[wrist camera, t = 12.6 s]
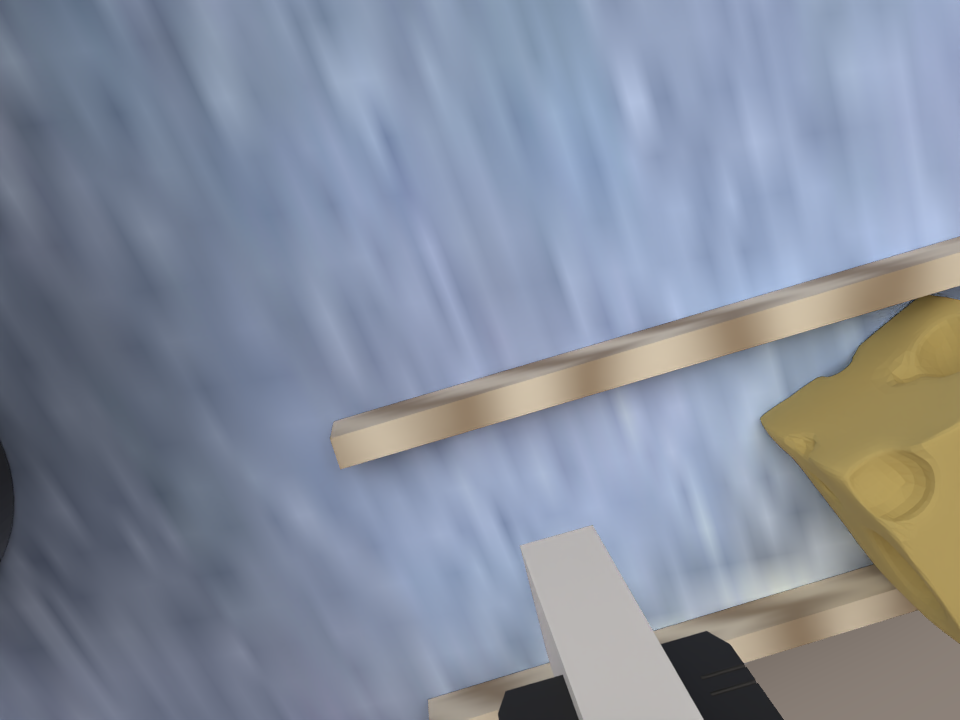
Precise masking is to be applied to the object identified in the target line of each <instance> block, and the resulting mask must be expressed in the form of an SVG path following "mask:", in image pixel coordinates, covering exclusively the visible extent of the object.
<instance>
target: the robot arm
mask: <svg viewBox="0 0 960 720" xmlns="http://www.w3.org/2000/svg"><path fill="white" fill-rule="evenodd" d="M13 502H14V501H13V487H12V480H11V475H10V471H9V466H8V463H7V460H6V457H5V454H4V451H3V449H2V446H1V444H0V560H1V558H2V556H3V554H4V551H5V549H6V546H7V543H8V539H9V536H10V531H11V526H12V519H13ZM520 548H521V552H522V556H523V560H524V564H525V568H526V572H527V576H528V580H529V584H530V588H531V592H532V596H533V600H534V603H535V607H536V611H537V615H538V619H539V623H540V627H541V631H542V635H543V639H544V643H545V647H546V651H547V655H548V658H549V662H550V665H551V668H552V671H553V674H554V677H553V678H549V679H546V680H542V681H539V682H535V683H532V684H528V685H525V686H521V687H518V688H514V689H511V690H508V691H505V694H504V697H503V700H502V703H501V706H500V709H499V712H498V717H499V720H784V719H783V718H782V717H781V715H780V714H779V712H778V711H777V709H776V708H775V707H774V705H773V704H772V702H771V701H770V700H769V698H768V697H767V695H766V694H765V692H764V691H763V690H762V688H761V687H760V686H759V684H758V683H756V681H755V679H754V677H753V676H752V674H751V673H750V671H749V670H748V669H747V667H746V668H745V665H744V663H743V661H742V660H741V659H740V657H739V656H738V654H737V653H736V652H735V650H734V649H733V647H732V646H731V645H730V644H729V643H727V642H725V641H724V640H722V639H720V638H718V637H717V636H715V635H713V634H711V633H710V632H708V631H704V632H701V633H697V634H694V635H690V636H687V637H683V638H680V639H676V640H673V641H670V642H666V643H663V644H660V642H659V641H658V639H657V637H656V635H655V634H654V632H653V630H652V628H651V627H650V625H649V623H648V621H647V620H646V618H645V616H644V614H643V613H642V611H641V609H640V607H639V606H638V604H637V602H636V600H635V599H634V597H633V595H632V593H631V592H630V590H629V588H628V586H627V585H626V583H625V581H624V579H623V578H622V576H621V574H620V572H619V571H618V569H617V567H616V565H615V564H614V562H613V560H612V558H611V557H610V555H609V553H608V551H607V550H606V548H605V546H604V544H603V543H602V541H601V539H600V537H599V536H598V534H597V532H596V530H595V529H594V527H593V525H591V526H588V527H584V528H581V529H577V530H573V531H570V532H566V533H563V534H559V535H555V536H552V537H548V538H545V539H541V540H538V541H534V542H530V543H527V544H523V545H520Z"/></svg>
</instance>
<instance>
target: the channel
mask: <svg viewBox="0 0 960 720" xmlns="http://www.w3.org/2000/svg"><path fill="white" fill-rule="evenodd" d="M957 286H960V237H957V238H953V239H950V240H946V241H943V242H940V243H936V244H933V245H929V246H926V247H923V248H919V249H916V250H913V251H909V252H906V253H902V254H899V255H896V256H892V257H889V258H885V259H882V260H879V261H875V262H872V263H869V264H865V265H862V266H858V267H855V268H852V269H848V270H845V271H841V272H838V273H835V274H831V275H828V276H825V277H821V278H818V279H814V280H811V281H808V282H804V283H801V284H797V285H794V286H791V287H787V288H784V289H781V290H777V291H774V292H770V293H767V294H764V295H760V296H757V297H753V298H750V299H747V300H743V301H740V302H737V303H733V304H730V305H726V306H723V307H720V308H716V309H713V310H709V311H706V312H703V313H699V314H696V315H692V316H689V317H686V318H682V319H679V320H676V321H672V322H669V323H665V324H662V325H659V326H655V327H652V328H648V329H645V330H642V331H638V332H635V333H632V334H628V335H625V336H621V337H618V338H615V339H611V340H608V341H604V342H601V343H598V344H594V345H591V346H588V347H584V348H581V349H577V350H574V351H571V352H567V353H564V354H560V355H557V356H554V357H550V358H547V359H544V360H540V361H537V362H533V363H530V364H527V365H523V366H520V367H516V368H513V369H510V370H506V371H503V372H500V373H496V374H493V375H489V376H486V377H483V378H479V379H476V380H472V381H469V382H466V383H462V384H459V385H456V386H452V387H449V388H445V389H442V390H439V391H435V392H432V393H428V394H425V395H422V396H418V397H415V398H412V399H408V400H405V401H401V402H398V403H395V404H391V405H388V406H384V407H381V408H378V409H374V410H371V411H368V412H364V413H361V414H357V415H354V416H351V417H347V418H344V419H340V420H337V421H334V423H333V427H332V432H331V436H330V440H331V443H332V446H333V449H334V452H335V455H336V458H337V461H338V464H339V467H340V469H343V468H347V467H350V466H354V465H357V464H360V463H364V462H367V461H370V460H374V459H377V458H381V457H384V456H387V455H391V454H394V453H397V452H401V451H404V450H408V449H411V448H414V447H418V446H421V445H424V444H428V443H431V442H434V441H438V440H441V439H445V438H448V437H451V436H455V435H458V434H461V433H465V432H468V431H472V430H475V429H478V428H482V427H485V426H488V425H492V424H495V423H499V422H502V421H505V420H509V419H512V418H515V417H519V416H522V415H525V414H529V413H532V412H536V411H539V410H542V409H546V408H549V407H552V406H556V405H559V404H563V403H566V402H569V401H573V400H576V399H579V398H583V397H586V396H590V395H593V394H596V393H600V392H603V391H606V390H610V389H613V388H616V387H620V386H623V385H627V384H630V383H633V382H637V381H640V380H643V379H647V378H650V377H654V376H657V375H660V374H664V373H667V372H670V371H674V370H677V369H681V368H684V367H687V366H691V365H694V364H697V363H701V362H704V361H707V360H711V359H714V358H718V357H721V356H724V355H728V354H731V353H734V352H738V351H741V350H745V349H748V348H751V347H755V346H758V345H761V344H765V343H768V342H772V341H775V340H778V339H782V338H785V337H788V336H792V335H795V334H799V333H802V332H805V331H809V330H812V329H815V328H819V327H822V326H825V325H829V324H832V323H836V322H839V321H842V320H846V319H849V318H852V317H856V316H859V315H863V314H866V313H869V312H873V311H876V310H879V309H883V308H886V307H890V306H893V305H896V304H900V303H903V302H906V301H910V300H913V299H916V298H920V297H923V296H927V295H930V294H933V293H937V292H940V291H943V290H947V289H950V288H954V287H957ZM917 610H918V609H917V608H916V607H915V606H914V605H913V604H912V603H911V602H910V601H909V600H908V599H907V598H906V597H905V596H904V595H903V594H902V593H901V592H900V591H899V590H898V589H897V588H896V587H895V586H894V585H893V584H892V583H891V582H890V581H889V580H888V579H887V578H886V577H885V576H884V575H883V574H882V573H881V572H880V570H879V569H878V568H877V567H876V565H875V564H873V565H870V566H867V567H864V568H860V569H857V570H854V571H850V572H847V573H844V574H840V575H837V576H834V577H831V578H827V579H824V580H821V581H817V582H814V583H811V584H807V585H804V586H801V587H798V588H794V589H791V590H788V591H784V592H781V593H778V594H775V595H771V596H768V597H765V598H761V599H758V600H755V601H751V602H748V603H745V604H742V605H738V606H735V607H732V608H728V609H725V610H722V611H718V612H715V613H712V614H709V615H705V616H702V617H699V618H695V619H692V620H689V621H685V622H682V623H679V624H676V625H672V626H669V627H666V628H662V629H659V630H656V631H653V632H654V634H655V635H656V637H657V639H658V641H659V642H660V644H663V643H666V642H670V641H673V640H676V639H680V638H683V637H687V636H690V635H694V634H697V633H701V632H704V631H708V632H710V633H711V634H713V635H715V636H717V637H718V638H720V639H722V640H724V641H725V642H727V643H729V644H730V645H731V646H732V647H733V649H734V650H735V652H736V653H737V654H738V656H739V657H740V659H741V660H742V661H743V663H746V662H750V661H753V660H756V659H759V658H762V657H766V656H769V655H772V654H776V653H779V652H782V651H786V650H789V649H792V648H795V647H799V646H802V645H805V644H809V643H812V642H815V641H818V640H822V639H825V638H828V637H832V636H835V635H838V634H841V633H844V632H848V631H851V630H854V629H858V628H861V627H864V626H867V625H871V624H874V623H877V622H881V621H884V620H887V619H891V618H894V617H897V616H901V615H904V614H907V613H910V612H914V611H917ZM553 677H554V674H553V671H552V668H551V665H550V663H547V664H544V665H540V666H537V667H534V668H530V669H527V670H524V671H521V672H517V673H514V674H511V675H507V676H504V677H501V678H497V679H494V680H491V681H488V682H484V683H481V684H478V685H474V686H471V687H468V688H464V689H461V690H458V691H455V692H451V693H448V694H445V695H441V696H438V697H435V698H431V699H428V708H429V720H499V717H498V712H499V709H500V706H501V703H502V700H503V697H504V694H505V691H508V690H511V689H514V688H518V687H521V686H525V685H528V684H532V683H535V682H539V681H542V680H546V679H549V678H553Z"/></svg>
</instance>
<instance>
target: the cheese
mask: <svg viewBox="0 0 960 720" xmlns="http://www.w3.org/2000/svg"><path fill="white" fill-rule="evenodd" d="M760 420H761V423H762V425H763V426H764V428H765V430H766V431H767V432H768V434H769V435H770V436H771V438H772V439H773V440H774V441H775V442H776V443H777V444H778V445H779V446H780V447H781V448H782V449H783V450H784V451H785V452H787V453H788V454H789V455H790V456H791V457H792V458H793V459H794V460H795V461H796V463H797V464H798V465H799V466H800V467H801V469H802V470H803V471H804V472H805V474H806V475H807V476H808V478H809V479H810V480H811V482H812V483H813V484H814V486H815V487H816V488H817V489H818V491H819V492H820V493H821V495H822V496H823V497H824V499H825V500H826V501H827V502H828V504H829V505H830V506H831V508H832V509H833V510H834V512H835V513H836V514H837V515H838V517H839V518H840V519H841V521H842V522H843V523H844V525H845V526H846V527H847V529H848V530H849V531H850V533H851V534H852V536H853V537H854V538H855V540H856V541H857V542H858V544H859V545H860V546H861V548H862V549H863V550H864V551H865V553H866V554H867V555H868V557H869V558H870V559H871V561H872V562H873V563H874V564H875V565H876V567H877V568H878V569H879V570H880V572H881V573H882V574H883V575H884V576H885V577H886V578H887V579H888V580H889V581H890V582H891V583H892V584H893V585H894V586H895V587H896V588H897V589H898V590H899V591H900V592H901V593H902V594H903V595H904V596H905V597H906V598H907V599H908V600H909V601H910V602H911V603H912V604H913V605H914V606H915V607H916V608H917V609H918V610H919V611H920V612H921V613H922V614H923V615H924V616H925V617H926V618H927V619H929V620H930V621H931V622H932V623H933V624H934V625H936V626H937V627H938V628H939V629H941V630H942V631H943V632H944V633H946V634H947V635H948V636H950V637H951V638H953V639H954V640H955V641H957V642H958V643H959V644H960V300H957V299H952V298H947V297H940V296H934V295H927V296H923V297H920V298H917V299H916V300H915V301H913V302H912V303H911V304H910V305H908V306H907V307H906V308H905V309H903V310H902V311H901V312H900V313H898V314H897V315H896V316H895V317H893V318H892V319H891V320H890V321H888V322H887V323H886V324H885V325H884V326H882V327H881V328H880V329H879V330H877V331H876V332H875V333H874V334H873V335H871V336H870V337H869V338H868V339H867V340H866V341H865V342H863V343H862V344H861V345H860V346H859V348H858V349H857V351H856V353H855V355H854V356H853V360H852V362H851V363H850V364H849V366H848V367H847V368H845V369H844V370H843V371H841V372H839V373H838V374H836V375H833V376H831V377H818V378H816V379H814V380H813V381H811V382H810V383H809V384H807V385H806V386H804V387H803V388H801V389H800V390H799V391H797V392H796V393H795V394H793V395H792V396H791V397H789V398H788V399H786V400H784V401H783V402H781V403H780V404H778V405H777V406H775V407H774V408H772V409H771V410H769V411H768V412H767V413H765V414H764V415H763V416H762V417H761V419H760Z"/></svg>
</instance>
